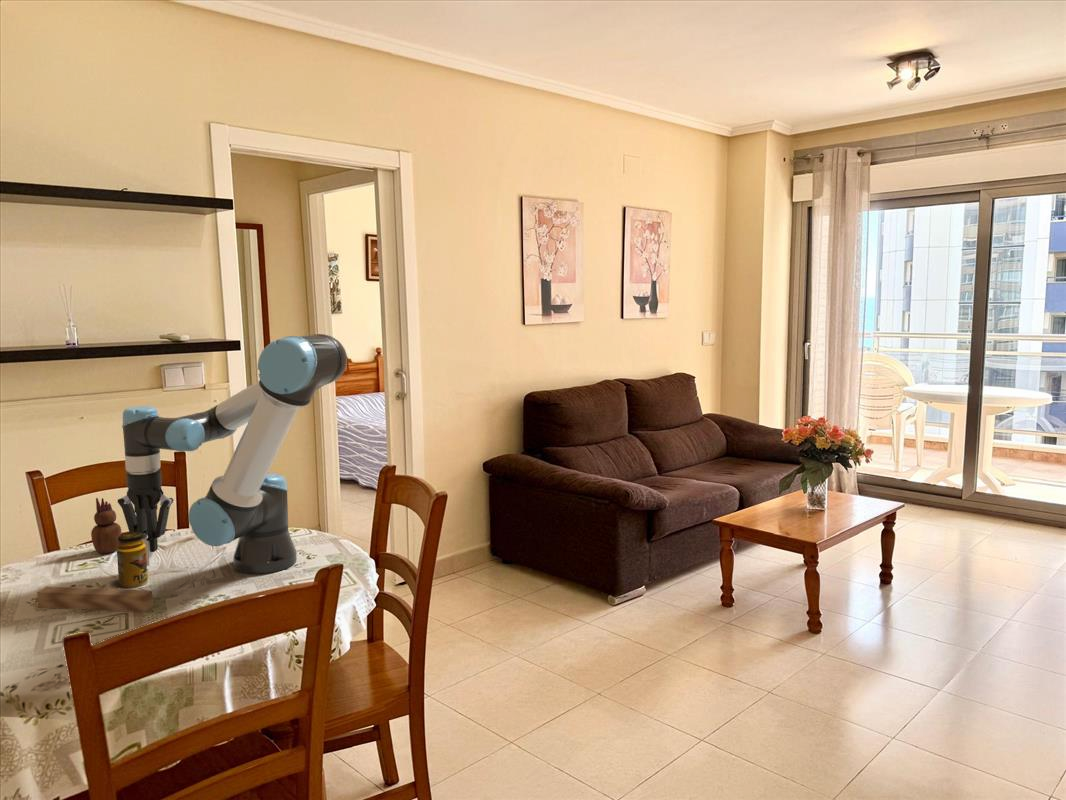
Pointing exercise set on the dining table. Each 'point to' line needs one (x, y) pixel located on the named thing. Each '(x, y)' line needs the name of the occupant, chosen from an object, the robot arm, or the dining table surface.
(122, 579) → the condiment
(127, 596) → the board
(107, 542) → the wooden figurine
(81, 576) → the dining table surface
